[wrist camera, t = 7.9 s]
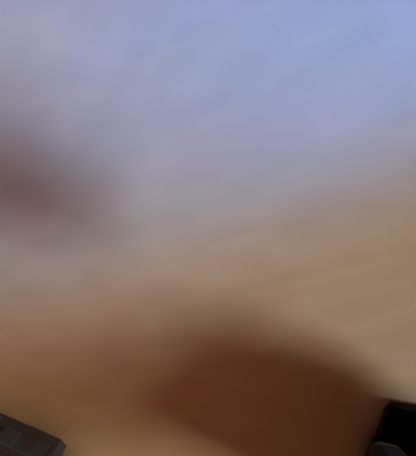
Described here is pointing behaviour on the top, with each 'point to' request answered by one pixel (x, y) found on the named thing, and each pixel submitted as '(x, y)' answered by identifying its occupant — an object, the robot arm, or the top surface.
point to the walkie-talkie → (26, 440)
